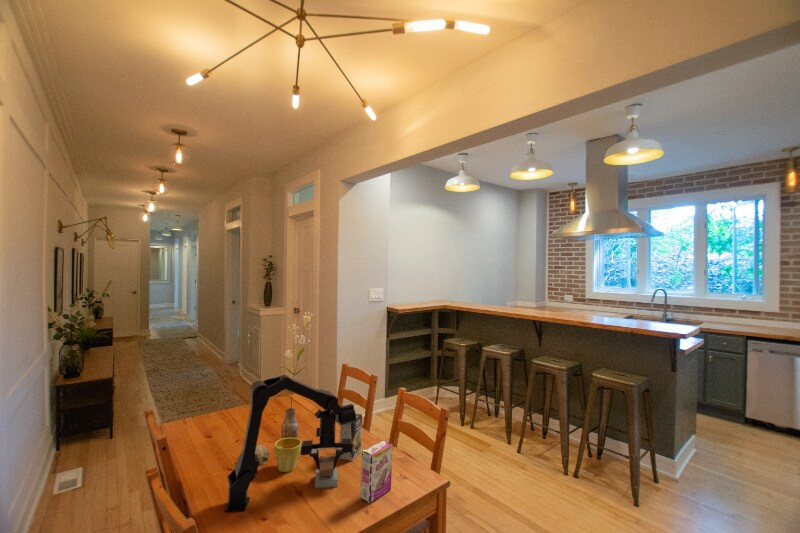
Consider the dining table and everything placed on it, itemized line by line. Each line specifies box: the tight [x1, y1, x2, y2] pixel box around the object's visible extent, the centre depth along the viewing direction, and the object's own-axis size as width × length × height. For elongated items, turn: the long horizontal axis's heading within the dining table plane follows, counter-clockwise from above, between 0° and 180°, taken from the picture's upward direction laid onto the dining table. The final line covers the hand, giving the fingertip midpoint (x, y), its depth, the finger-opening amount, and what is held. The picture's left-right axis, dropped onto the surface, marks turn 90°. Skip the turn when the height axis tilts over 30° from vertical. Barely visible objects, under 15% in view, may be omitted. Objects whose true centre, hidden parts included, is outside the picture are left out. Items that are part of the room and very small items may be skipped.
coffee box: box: [339, 413, 363, 462], centre depth 157 cm, size 9×6×16 cm
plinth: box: [314, 467, 339, 489], centre depth 137 cm, size 8×8×2 cm
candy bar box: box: [360, 440, 393, 505], centre depth 130 cm, size 11×5×16 cm, turn 141°
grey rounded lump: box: [255, 444, 270, 467], centre depth 151 cm, size 10×10×8 cm
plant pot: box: [273, 437, 303, 473], centre depth 146 cm, size 10×10×10 cm
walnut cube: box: [319, 454, 335, 477], centre depth 137 cm, size 5×5×5 cm
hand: (326, 469), depth 137 cm, fingers closed on walnut cube, 5 cm apart
